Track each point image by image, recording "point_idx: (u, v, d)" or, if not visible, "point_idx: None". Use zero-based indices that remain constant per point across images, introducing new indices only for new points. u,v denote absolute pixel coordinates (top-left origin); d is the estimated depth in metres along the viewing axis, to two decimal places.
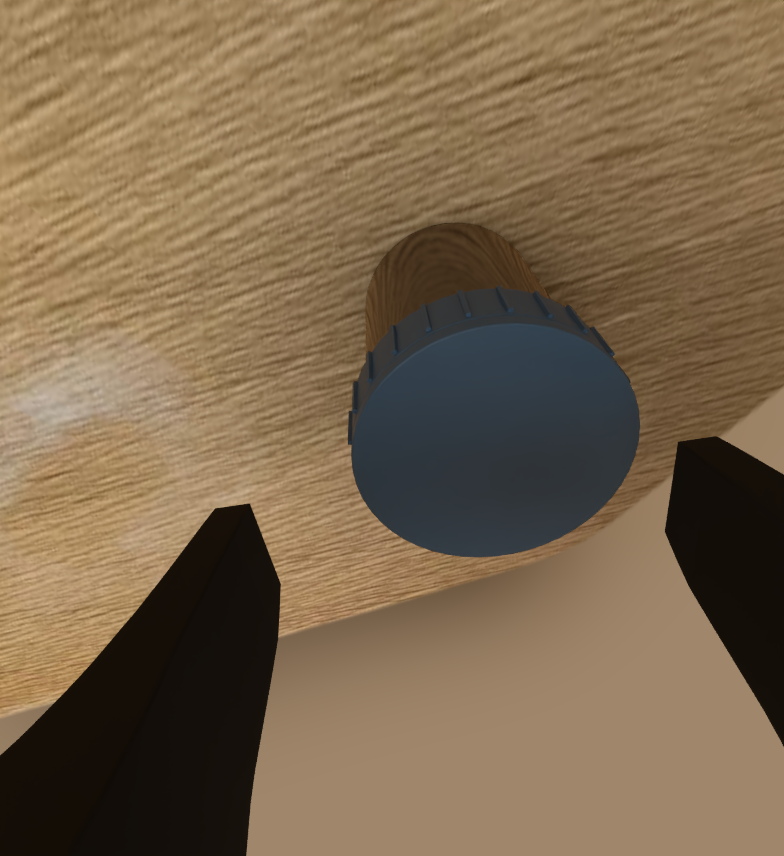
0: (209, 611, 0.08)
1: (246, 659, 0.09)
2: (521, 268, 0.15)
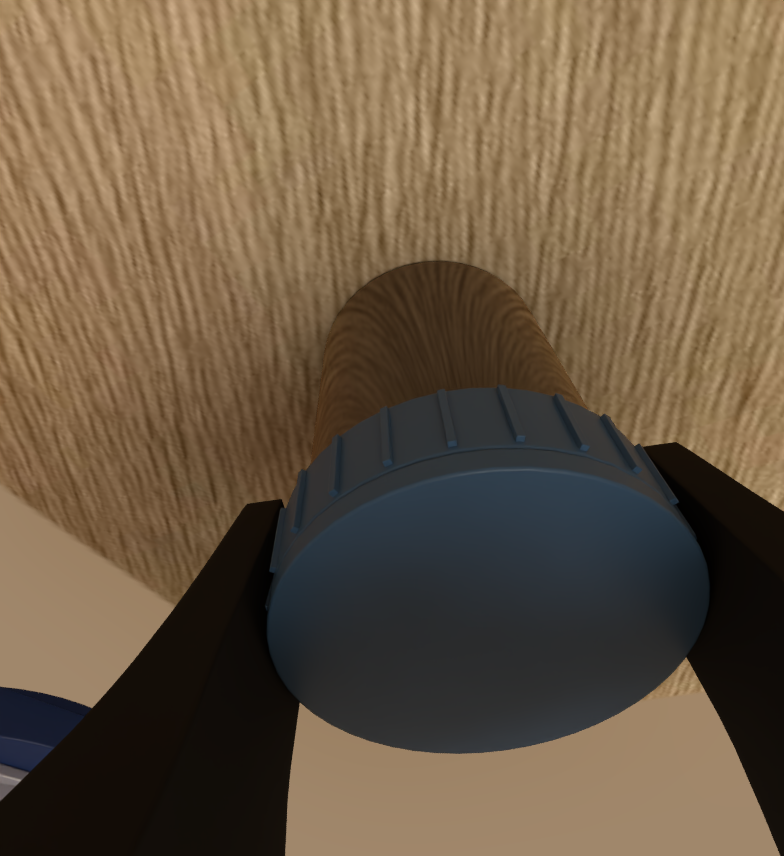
0: (249, 606, 0.08)
1: None
2: None
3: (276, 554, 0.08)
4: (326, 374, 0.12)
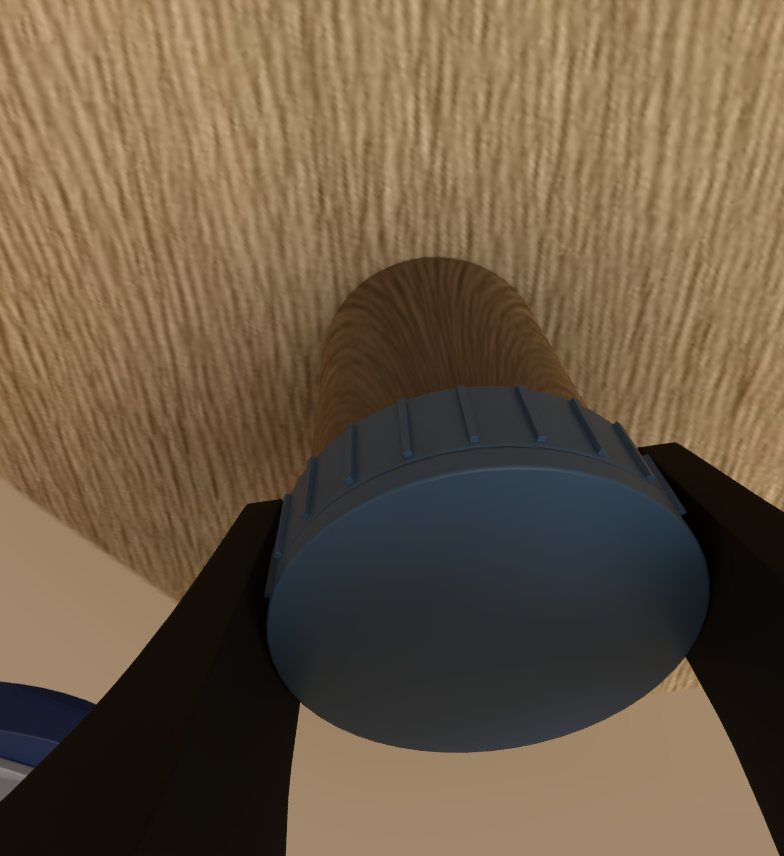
0: (250, 605, 0.08)
1: None
2: None
3: None
4: (324, 375, 0.12)
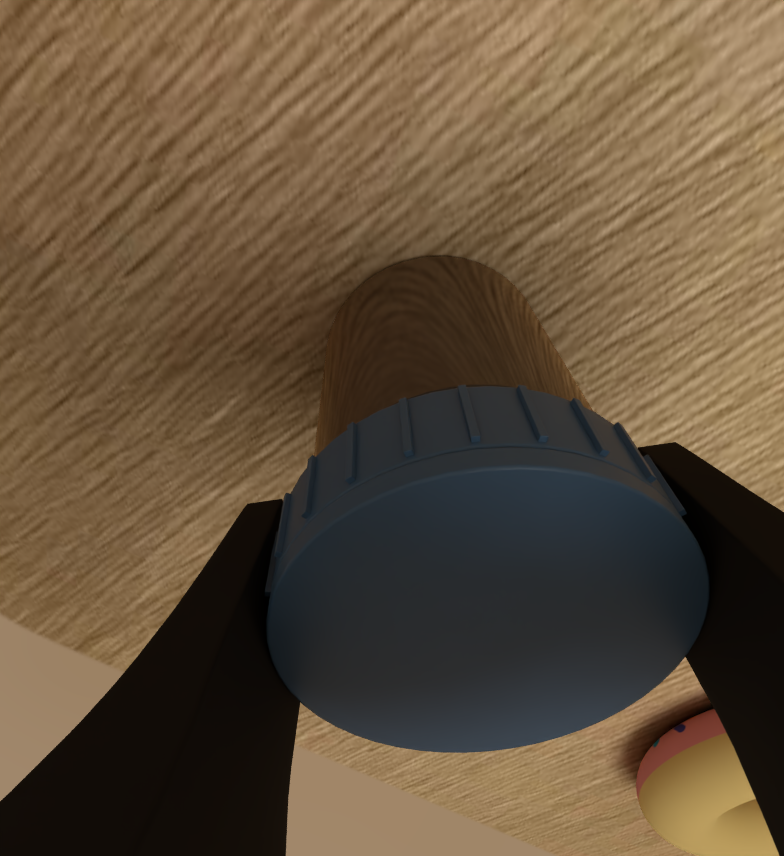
0: (250, 606, 0.08)
1: None
2: None
3: None
4: (409, 301, 0.11)
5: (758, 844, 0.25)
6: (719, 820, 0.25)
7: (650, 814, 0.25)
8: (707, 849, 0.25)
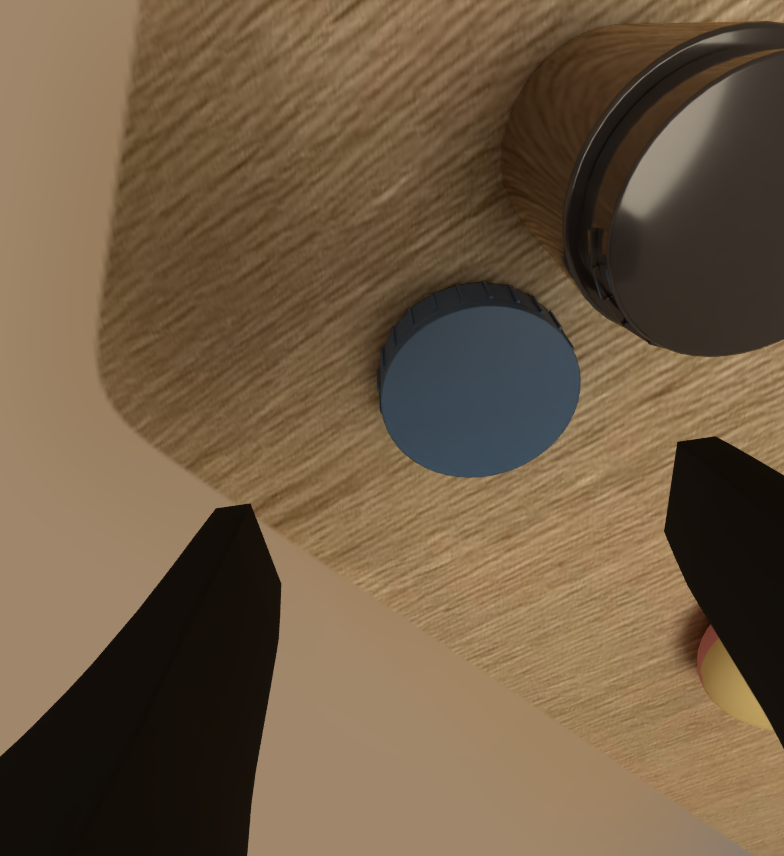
0: (210, 611, 0.08)
1: (247, 659, 0.09)
2: None
3: None
4: (637, 27, 0.12)
5: None
6: None
7: (714, 679, 0.26)
8: (765, 715, 0.26)
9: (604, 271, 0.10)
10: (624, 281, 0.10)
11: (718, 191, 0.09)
